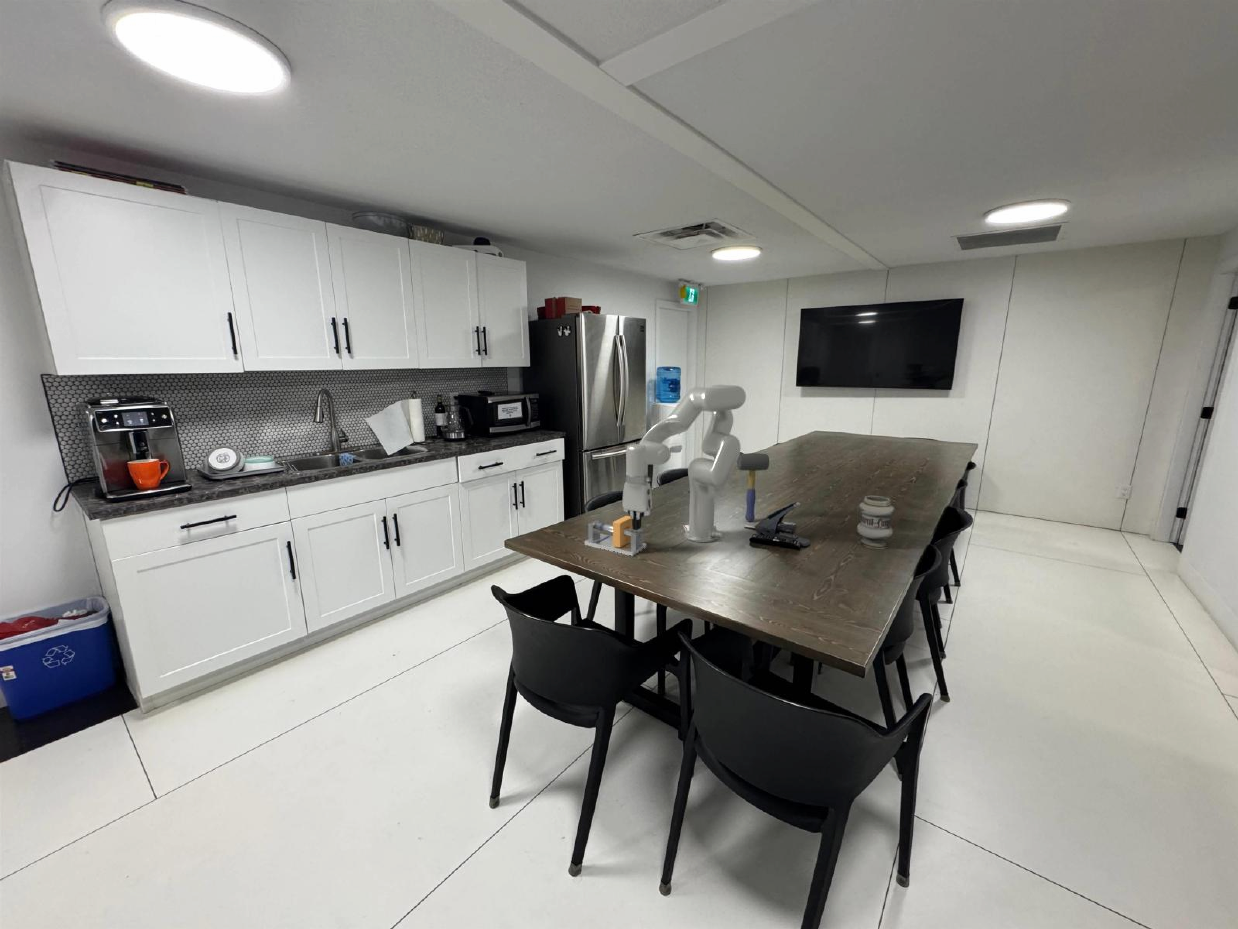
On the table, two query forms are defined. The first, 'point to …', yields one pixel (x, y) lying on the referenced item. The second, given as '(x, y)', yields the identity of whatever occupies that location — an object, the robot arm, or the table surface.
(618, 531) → the collar
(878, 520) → the apothecary jar
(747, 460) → the rubber mallet
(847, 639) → the table surface
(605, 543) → the pipe stand
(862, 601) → the table surface
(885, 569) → the table surface
